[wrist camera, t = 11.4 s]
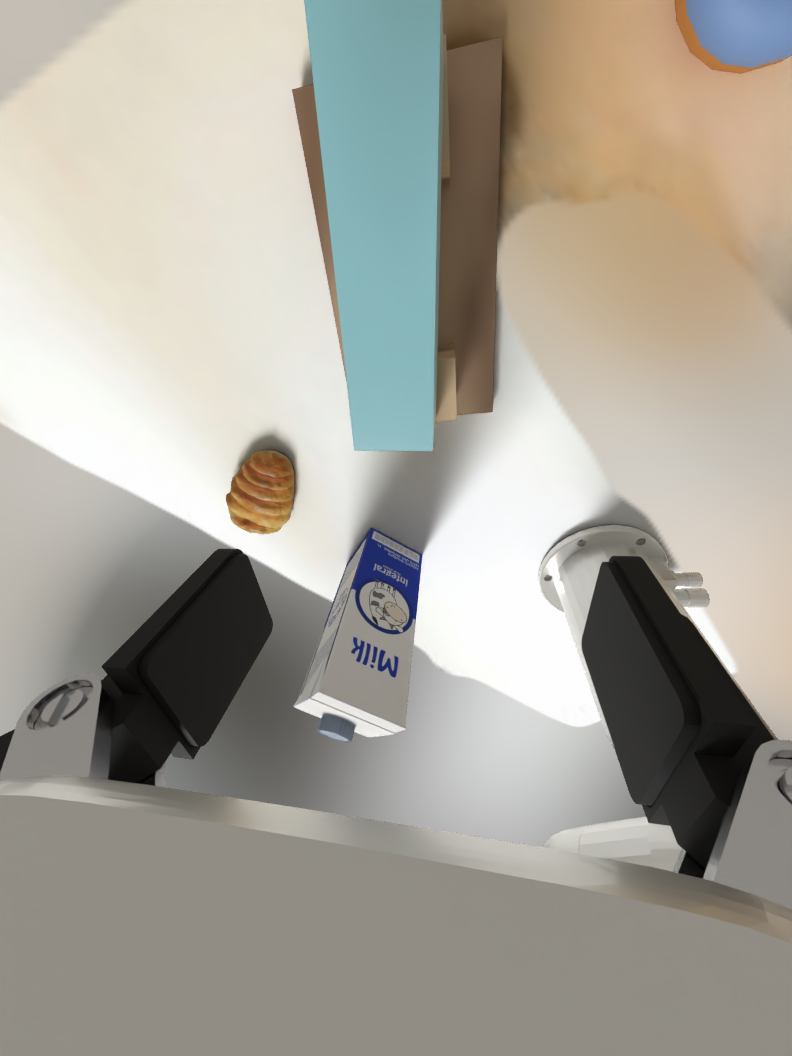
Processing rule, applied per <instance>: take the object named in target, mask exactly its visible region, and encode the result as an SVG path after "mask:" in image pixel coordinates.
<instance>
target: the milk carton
mask: <svg viewBox="0 0 792 1056" xmlns="http://www.w3.org/2000/svg"><path fill="white" fill-rule="evenodd" d="M421 563H422V555H421V554H420V553H418V552H416V551H414V550H412V549H410V548H408V547H407V546H405V545H403V544H401V543H399V542H397V541H395V540H393V539H392V538H390V537H388V536H386V535H384V534H382V533H380V532H379V531H377V530H375V529H373V528H371V529H370V531H369V532H368V534H367V535H366V537H365V538H364V540H363V541H362V543H361V544H360V546H359V547H358V549H357V550H356V551H355V553H354V554H353V556H352V557H351V559H350V560H349V562H348V563H347V565H346V568H345V571H344V574H343V576H342V579H341V582H340V585H339V587H338V590H337V593H336V596H335V599H334V601H333V604H332V607H331V610H330V612H329V615H328V618H327V621H326V624H325V626H324V629H323V632H322V635H321V637H320V640H319V643H318V646H317V648H316V651H315V654H314V657H313V659H312V663H311V665H310V668H309V671H308V673H307V676H306V679H305V682H304V685H303V687H302V690H301V693H300V696H299V699H298V700H297V702H296V703H295V705H294V707H295V708H297V709H300V710H302V711H305V712H307V713H310V714H312V715H314V716H317V717H319V718H321V721H320V723H319V726H318V729H317V731H318V732H319V733H321V734H323V735H326V736H327V737H328V736H329V737H332V738H335V739H336V740H340V741H343V742H349V743H350V742H351V740H352V737H353V734H354V732H356V733H359V734H362V735H364V736H366V737H376V736H383V735H392V734H395V733H396V732H399V731H401V730H405V729H406V712H407V702H408V691H409V683H410V672H411V662H412V653H413V643H414V633H415V623H416V613H417V603H418V593H419V583H420V573H421Z"/></svg>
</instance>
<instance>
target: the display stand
mask: <svg viewBox="0 0 792 1056" xmlns="http://www.w3.org/2000/svg"><path fill="white" fill-rule="evenodd" d="M502 42H503V37H499V38H495V39H491V40H487V41H483V42H479V43H475V44H471V45H467V46H463V47H459V48H455V49H451V50H447V43H446V34H443V43H444V83H443V128H442V173H441V218H440V263H439V309H438V354H437V399H436V422H440V421H452V420H457V415H463V414H475V413H487V412H492V411H493V374H494V337H495V300H496V263H497V226H498V189H499V152H500V115H501V78H502ZM292 92H293V97H294V102H295V108H296V113H297V118H298V124H299V129H300V134H301V140H302V145H303V151H304V156H305V161H306V167H307V172H308V177H309V183H310V188H311V193H312V199H313V204H314V209H315V215H316V220H317V225H318V231H319V236H320V242H321V247H322V252H323V258H324V263H325V268H326V274H327V279H328V284H329V290H330V295H331V300H332V306H333V311H334V316H335V322H336V327H337V333H338V338H339V343H340V349H341V354H342V359H343V365H344V370H345V362H344V353H343V344H342V335H341V326H340V317H339V308H338V299H337V290H336V281H335V272H334V263H333V254H332V245H331V236H330V227H329V218H328V209H327V200H326V191H325V182H324V173H323V165H322V156H321V147H320V138H319V129H318V120H317V111H316V102H315V93H314V84H312V85H308V86H304V87H300V88H296V89H292ZM345 375H346V371H345ZM346 381H347V380H346Z"/></svg>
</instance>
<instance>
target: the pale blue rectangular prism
mask: <svg viewBox="0 0 792 1056" xmlns="http://www.w3.org/2000/svg"><path fill="white" fill-rule="evenodd" d="M304 3H305V12H306V21H307V30H308V39H309V48H310V57H311V66H312V75H313V84H314V93H315V102H316V111H317V120H318V129H319V138H320V147H321V156H322V165H323V173H324V182H325V191H326V200H327V209H328V218H329V227H330V236H331V245H332V254H333V263H334V272H335V281H336V290H337V299H338V308H339V317H340V326H341V335H342V344H343V353H344V362H345V371H346V380H347V389H348V398H349V407H350V416H351V425H352V433H353V442H354V450H355V451H433V443H434V433H435V423H436V399H437V354H438V309H439V263H440V218H441V173H442V128H443V83H444V43H443V7H442V0H304Z"/></svg>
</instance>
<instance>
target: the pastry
mask: <svg viewBox="0 0 792 1056" xmlns="http://www.w3.org/2000/svg"><path fill="white" fill-rule="evenodd" d="M293 499H294V470H293V467H292V464H291V461H290V460H289V459H288V458H287V457H286V456H285V455H283V454H281V453H279V452H277V451H272V450H267V451H259V452H254V453H253V454H252V455H251V456H250V458H249V459H248V460H247V461H246V462H245V463H244V464H243V465H242V466H241V469H240V470H239V472H238V473H237V474H236V475H235V476H234V477H233V478H232V482H231V491H230V493H228V494H227V495H226V502H227V505H228V507H229V508H228V509H229V513H230V516H231V520H232V522H233V523H234V524H235V525H237V526H238V527H239V528H241V529H243V530H245V531H248V532H250V533H258V534H270V533H274V532H277V531H279V530H280V529H281V527H282V526H283V524H285V523H286V522H287V521H288V520H289V518H290V515H291V510H292V506H293Z"/></svg>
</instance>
